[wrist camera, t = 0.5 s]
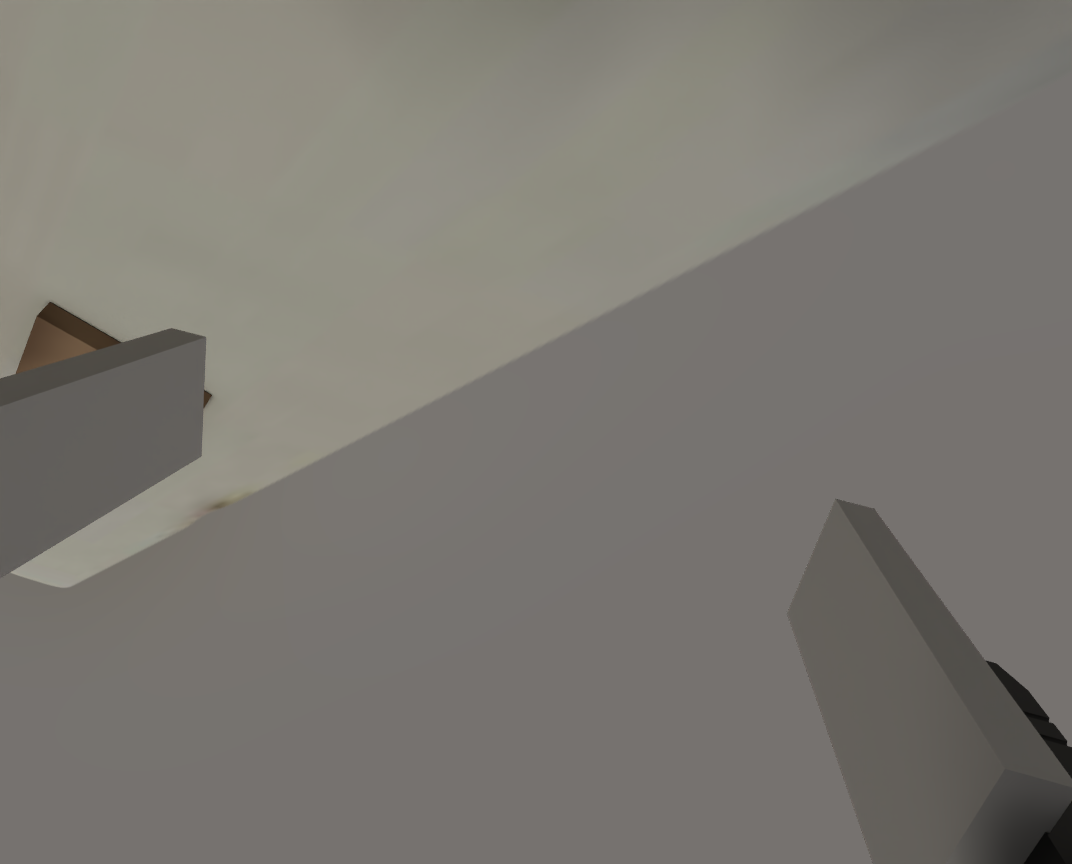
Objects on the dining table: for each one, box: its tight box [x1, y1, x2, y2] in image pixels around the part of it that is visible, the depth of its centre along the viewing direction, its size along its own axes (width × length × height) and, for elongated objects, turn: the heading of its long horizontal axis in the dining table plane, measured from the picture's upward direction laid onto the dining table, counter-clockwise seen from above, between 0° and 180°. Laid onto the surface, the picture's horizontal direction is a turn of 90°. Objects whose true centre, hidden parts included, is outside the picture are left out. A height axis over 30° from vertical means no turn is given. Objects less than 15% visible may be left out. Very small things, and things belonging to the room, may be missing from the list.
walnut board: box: [16, 302, 212, 408], centre depth 45 cm, size 10×10×1 cm
